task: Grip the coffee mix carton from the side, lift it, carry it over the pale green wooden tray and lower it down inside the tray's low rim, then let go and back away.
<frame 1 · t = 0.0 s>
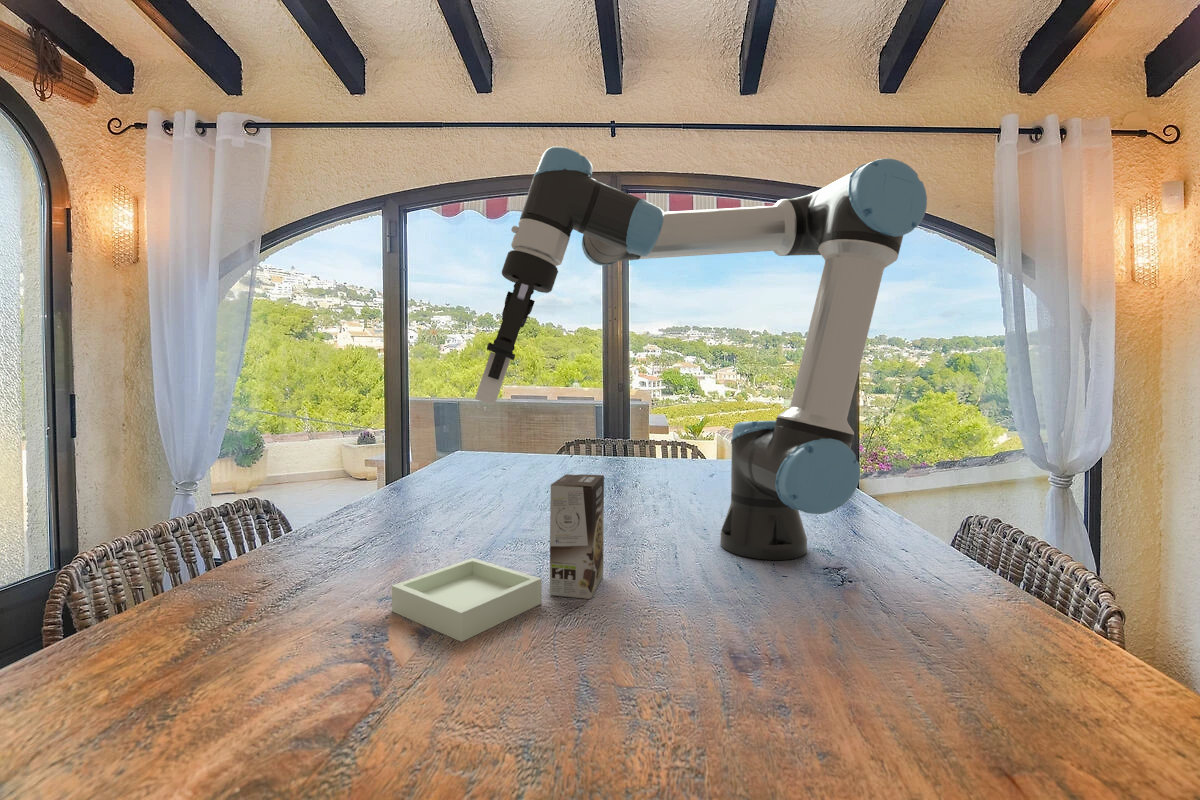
hand: (486, 399, 83), 28 cm above the table, tool tilted 20°, fingers open, 13 cm apart
coffee box: (577, 587, 86), on the table
tray: (468, 607, 79), on the table
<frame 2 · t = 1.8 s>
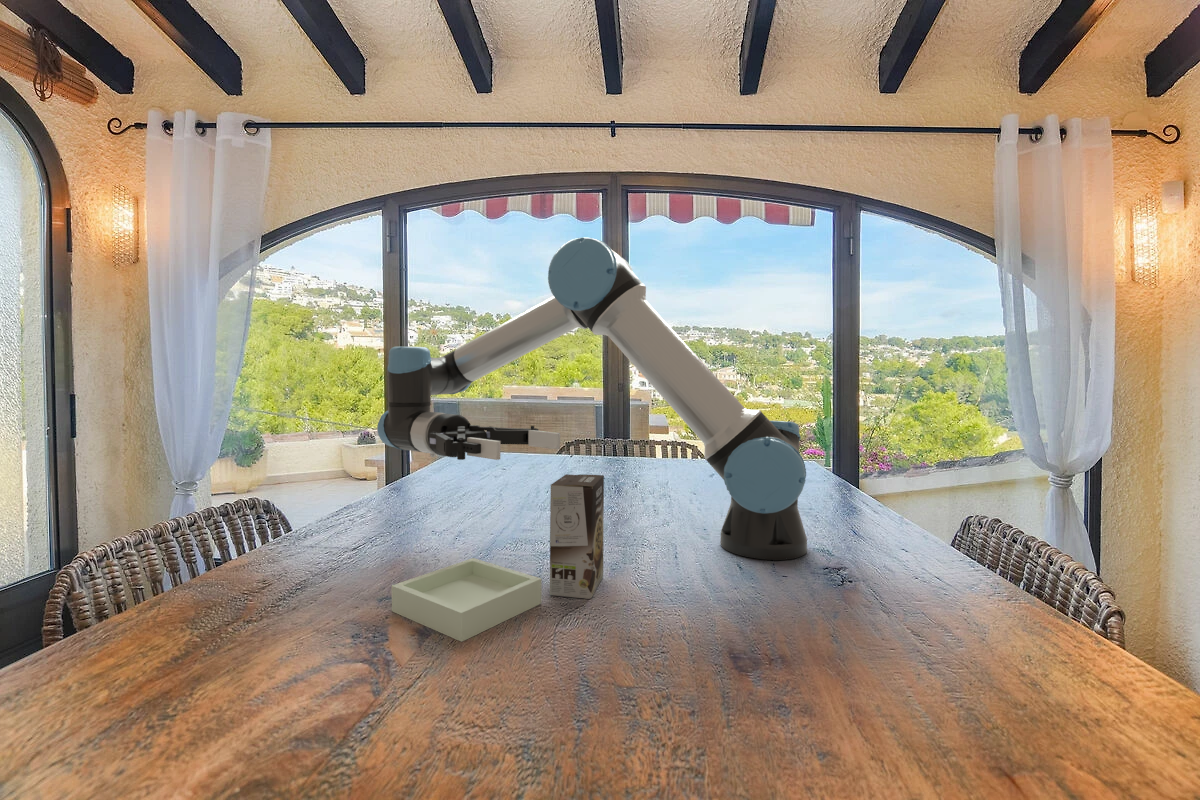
hand: (530, 445, 91), 20 cm above the table, tool horizontal, fingers open, 13 cm apart
nothing on the table moved.
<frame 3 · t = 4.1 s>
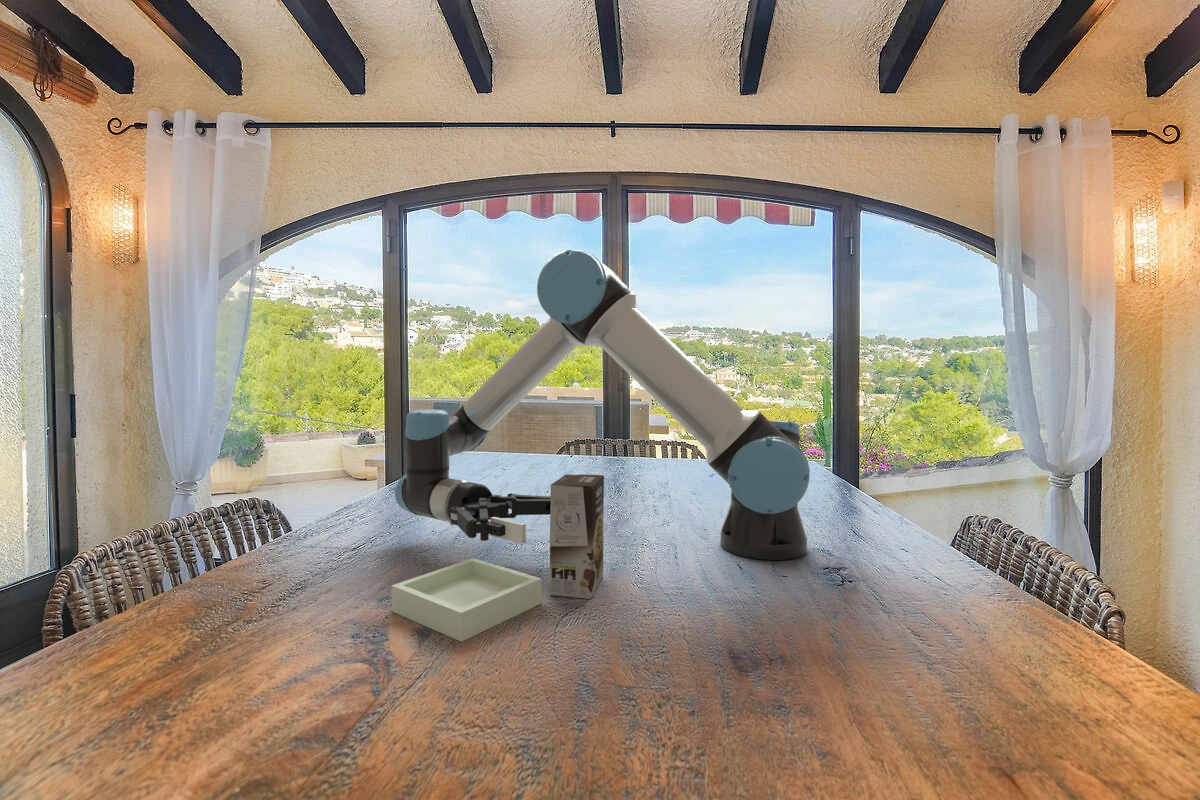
hand: (555, 523, 88), 9 cm above the table, tool horizontal, fingers open, 13 cm apart
nothing on the table moved.
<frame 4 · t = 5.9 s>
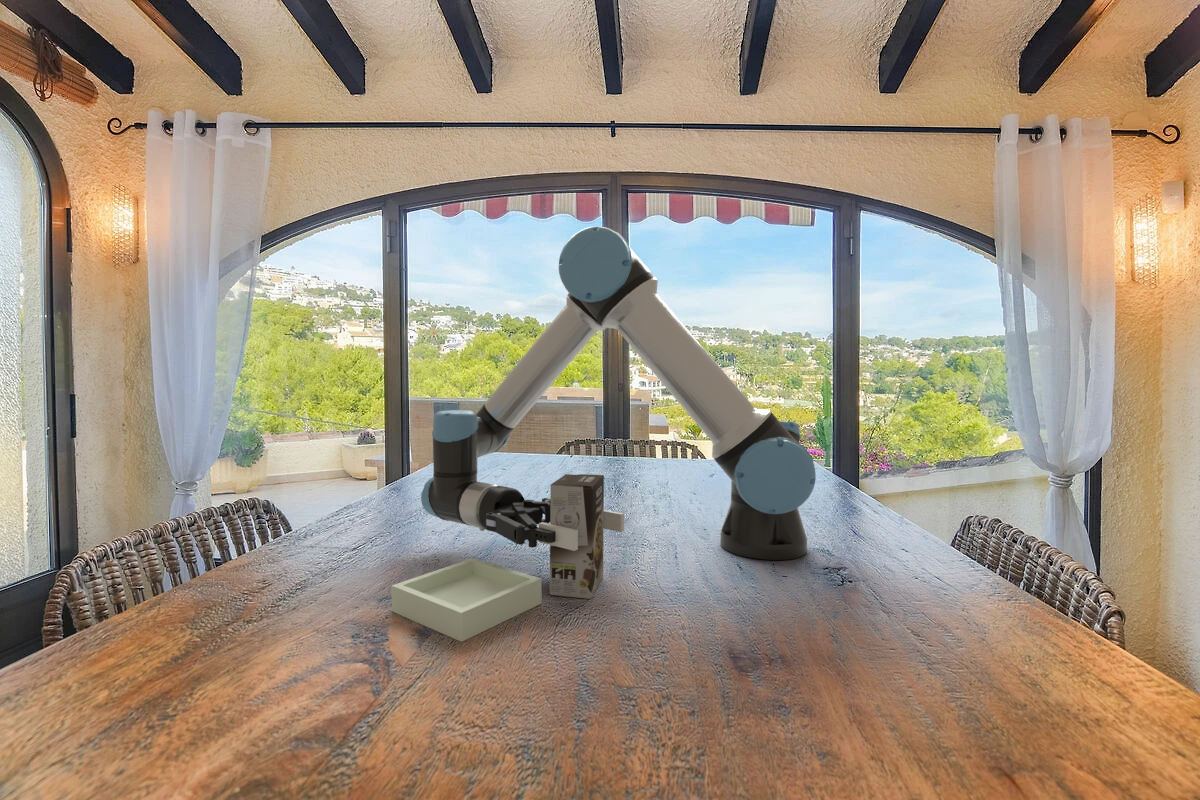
hand: (600, 531, 83), 9 cm above the table, tool horizontal, fingers closed on coffee box, 10 cm apart
coffee box: (577, 587, 86), on the table, touching gripper
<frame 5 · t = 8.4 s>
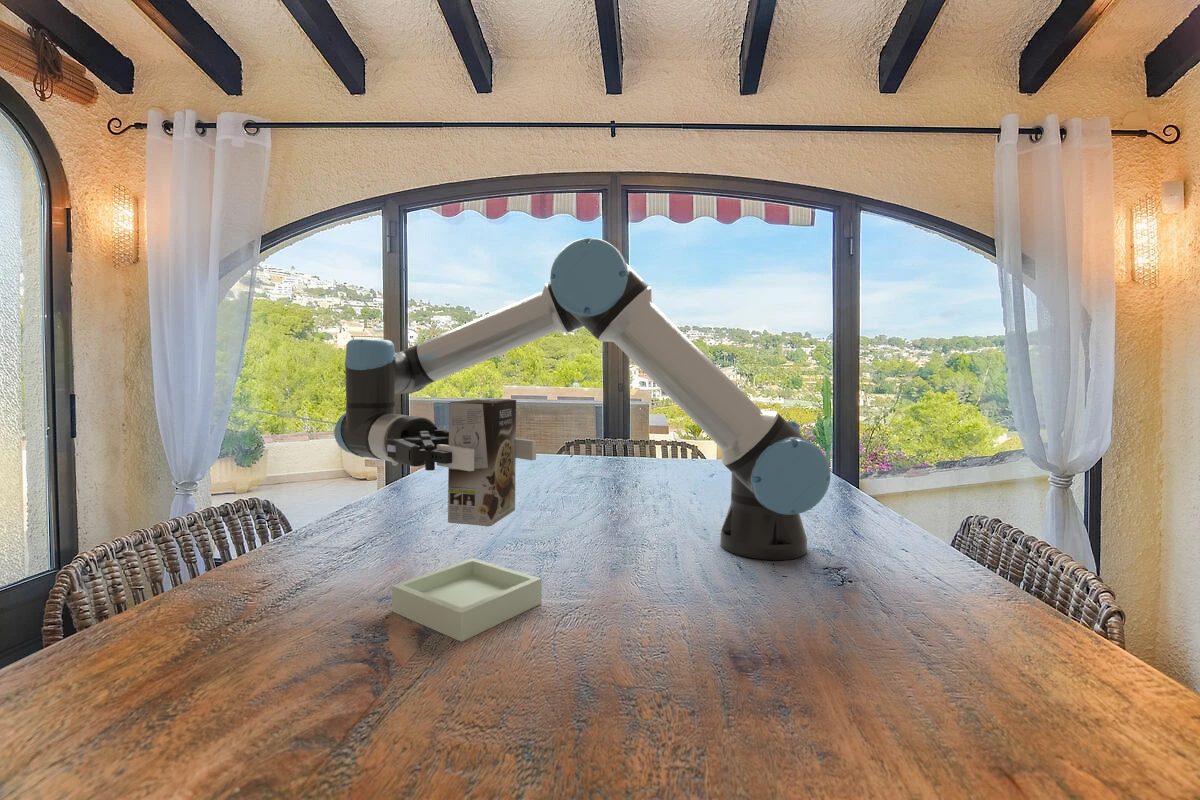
hand: (504, 455, 77), 21 cm above the table, tool horizontal, fingers closed on coffee box, 10 cm apart
coffee box: (483, 518, 80), point 12 cm above the table, touching gripper
when the fingers open (12 cm above the table, at t = 10.7 s): coffee box drops 1 cm, resting on tray.
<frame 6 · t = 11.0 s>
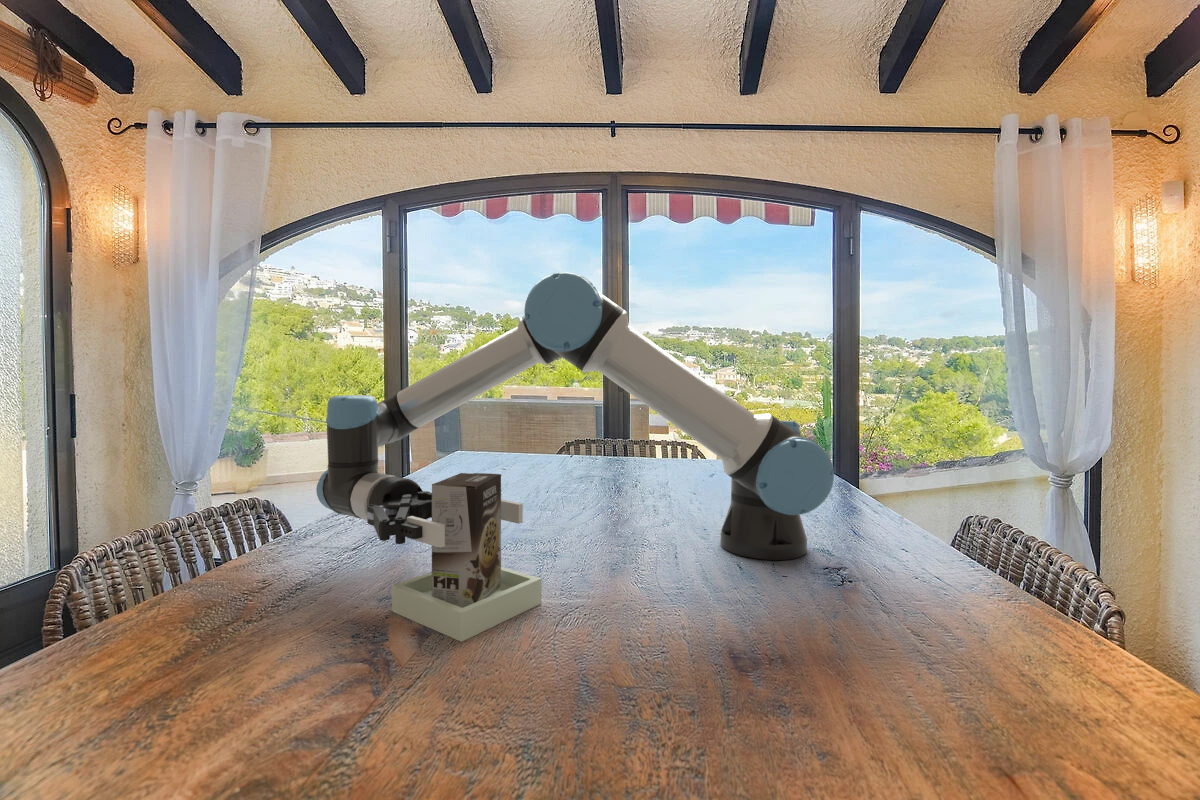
hand: (484, 524, 76), 12 cm above the table, tool horizontal, fingers open, 13 cm apart
coffee box: (468, 597, 79), point 1 cm above the table, touching tray
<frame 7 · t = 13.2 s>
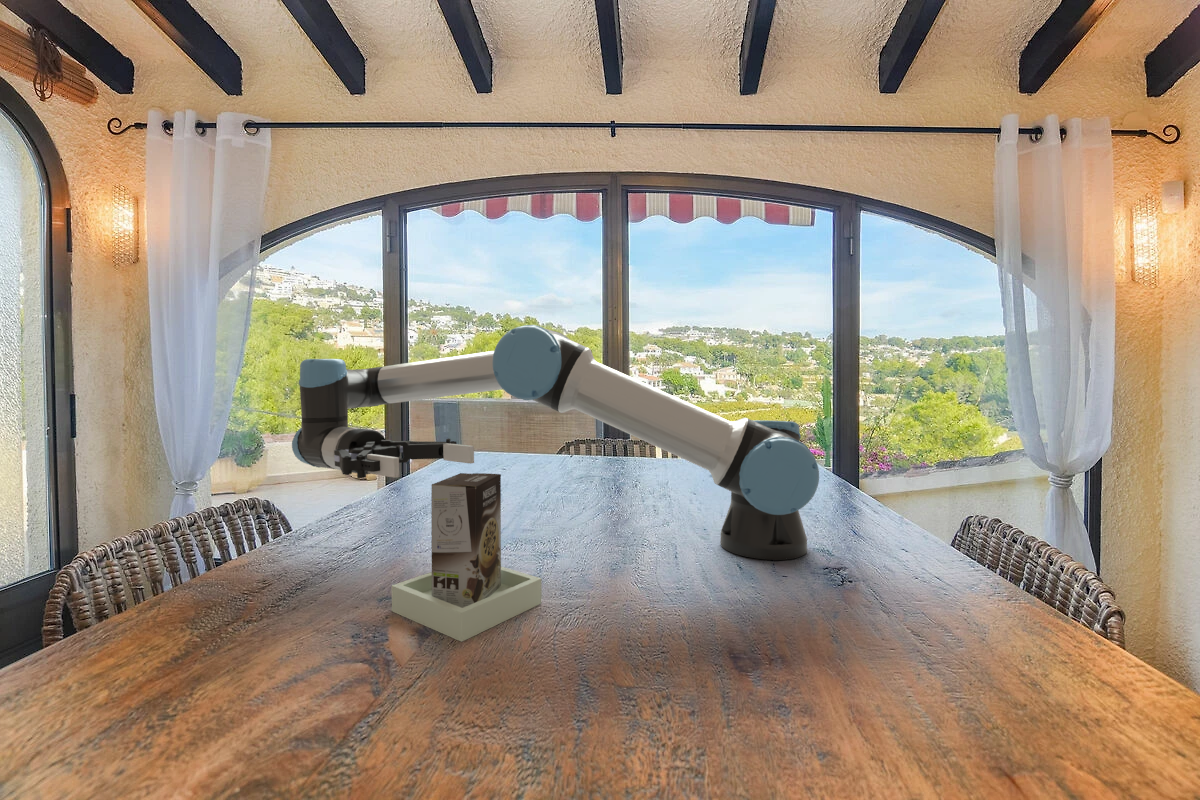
hand: (437, 460, 86), 19 cm above the table, tool horizontal, fingers open, 13 cm apart
nothing on the table moved.
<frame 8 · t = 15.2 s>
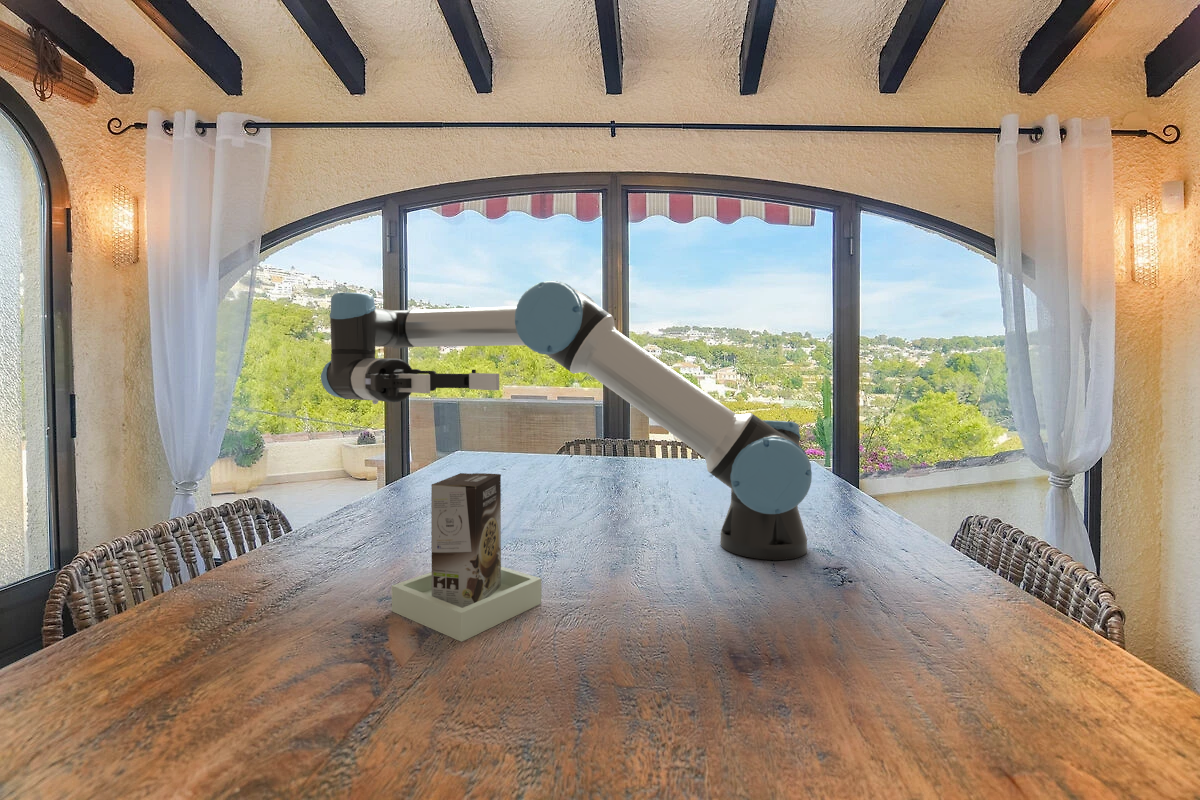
hand: (465, 382, 89), 30 cm above the table, tool horizontal, fingers open, 13 cm apart
nothing on the table moved.
at the end: coffee box inside the target area on the tray (0.2 cm from its centre), point 1.3 cm above the tray's base; coffee box tilted 0°; the gripper is holding nothing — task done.
